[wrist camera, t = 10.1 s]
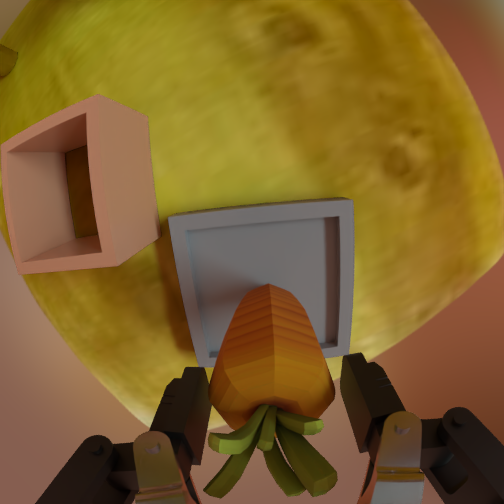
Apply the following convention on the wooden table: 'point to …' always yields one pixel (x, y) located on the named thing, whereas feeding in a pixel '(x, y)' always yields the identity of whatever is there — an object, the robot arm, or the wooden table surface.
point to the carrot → (271, 394)
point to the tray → (266, 266)
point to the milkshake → (7, 60)
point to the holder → (102, 184)
